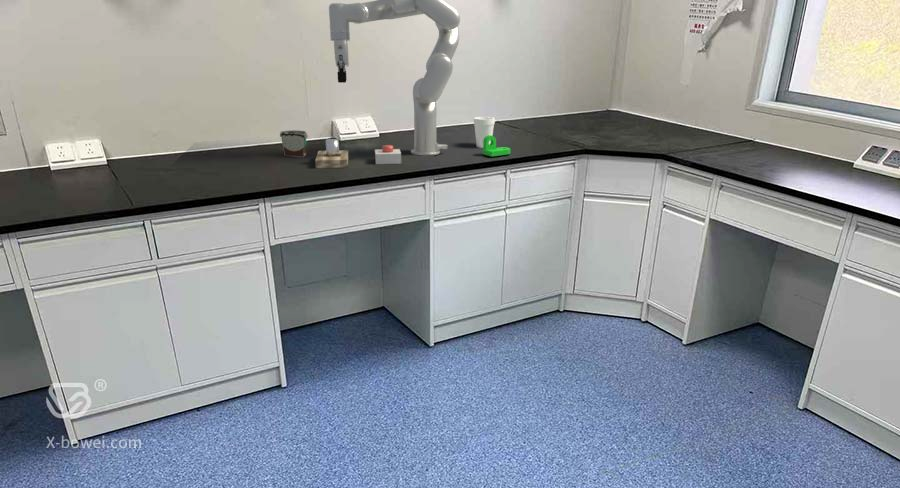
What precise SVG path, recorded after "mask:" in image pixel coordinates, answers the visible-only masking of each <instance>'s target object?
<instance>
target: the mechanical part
mask: <svg viewBox="0 0 900 488" xmlns="http://www.w3.org/2000/svg"><path fill="white" fill-rule="evenodd" d="M490 140H491V143H490V145H489V141H490ZM482 154H483V155H485V156H489V157H498V156H504V155H505V156H506V155H510V154H511V148H510V147H505V146H503V147H501V146H500V147H497V138H496V137H495V136H494V135H492V136H491V135H487V136H486V137H485V138H484V141H483V148H482Z"/></svg>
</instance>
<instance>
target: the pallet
mask: <svg viewBox="0 0 900 488" xmlns="http://www.w3.org/2000/svg"><path fill="white" fill-rule="evenodd" d="M314 163H315V168H316V169H336V168H337V169H338V168H339V169H340V168H343V169H344V168H348V165H349V150H348V149H347V150H346V149H343V150H340V149H339V157H327V156H326V150H318V152H317V154H316V157H315V161H314Z"/></svg>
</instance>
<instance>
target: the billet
mask: <svg viewBox="0 0 900 488" xmlns="http://www.w3.org/2000/svg"><path fill="white" fill-rule="evenodd" d="M339 150H340V142H339V139H338V138H328V139H325V151H326V156H327V157H339Z"/></svg>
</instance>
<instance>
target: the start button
mask: <svg viewBox="0 0 900 488" xmlns="http://www.w3.org/2000/svg"><path fill="white" fill-rule="evenodd" d="M381 147H382V148H381V149H382V151H383V152H393V149H394V145H391V144H387V145H386V144H385V145H382V146H381Z"/></svg>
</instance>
